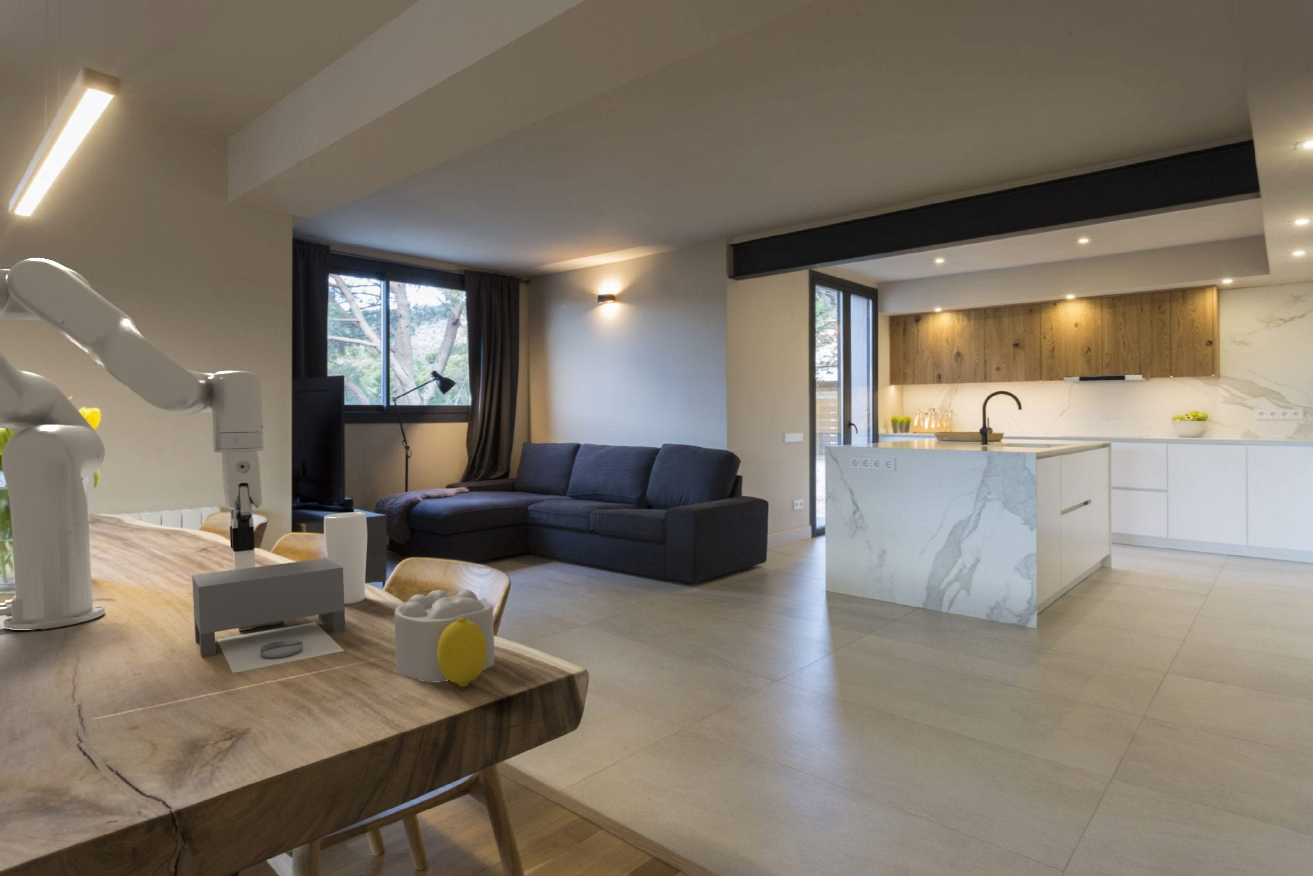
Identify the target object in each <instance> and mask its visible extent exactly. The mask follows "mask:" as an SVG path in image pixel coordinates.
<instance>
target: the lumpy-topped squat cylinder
mask: <svg viewBox="0 0 1313 876" xmlns="http://www.w3.org/2000/svg"><path fill="white" fill-rule="evenodd" d="M393 613H394V615H393V618H394V638H395V639H394V641H395V645H394V646H395V670H396V671H397V673H399V672H400V673H399V674H401V673H402V674H401V675H403V674H404V675H403V676H405V675H406V676H405V677H407V676H409V677H408V678H410V677H412V678H411V679H413V678H416V679H420V680H424V681H445V680H447V678H445V676H444V675H443V674H442V672H441V670H440V668H439V665H438V660H437V648H438V643H439V639H440V636H441V634H442V632H443V631H444V629H445V628H446V627H447V626H449V625H450V624H451V623H453V622H455V621H457V619H458V618H465V619H466V620H468V621H471V622H473V623H475V624H476V625H478V626H479V627H480V629H481V630H482V632H483V634H484V637H485V640H486V645H487V660H486V664H485V667H484V668H487V667H490V666H491V665H493V664H494V662H495V659H496V658H495V637H494V635H495V634H494V609H493V606H492V605H491V604H490V603H488V602H486V601H482V600H479V599H478V596H477V594H476V593H474V592H473V591H472V590H471V589H463V590H461V591H459V592H458V593H456V594H454V596H453V595H452V596H449V594H448V593H447V592H445V591H444V590H443V589H435V590H432V591H430V592H429V593H428V594H427V595H423V594H420V593H419V594H417V593H416V594H414V595H412V596H411V597H410V598H409V599H408V600H407V601H405V602H403V603H400V604H399V605H397V607H395V610H394V612H393ZM494 665H495V664H494ZM494 665H493V666H494ZM490 668H491V667H490ZM416 679H415V680H416Z"/></svg>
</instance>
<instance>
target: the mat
mask: <svg viewBox="0 0 1313 876" xmlns="http://www.w3.org/2000/svg"><path fill="white" fill-rule="evenodd" d="M216 640H217V643H218V645H219V647H220V650H221V651H222V653H223V656H224V658H225V660H226V662H227V664H228V666H229V668H230V671H231V673H232V674H237V673H240V672H246V671H251V670H256V669H261V668H266V667H270V666H277V665H281V664H285V663H286V664H287V663H291V662H297V661H301V660H302V661H303V660H307V659H312V658H317V657H321V656H325V655H332V654H335V653H336V654H337V653H342V652H345V650H344V649H343V648H342V647H341V646H340V644H338V642H336V641H335V640H334V639H333V638H332V637H331V636H330V635H329V634H328V633H327V632H326V631H325V630H324V629H323V628H322V627H321V626H320V625H319V624H318V623H317V622H307V623H304V624H298V625H291V626H285V627H280V628H273V629H269V630H268V629H267V630H264V631H263V630H261V631H257V632H251V633H246V634H241V635H233V636H227V637H223V638H217V639H216ZM286 640H299V641H302V643H303V651H302V652H300V653H299V654H296V655H293V656H290V657H285V658H279V659H263V658H261V652H260V648H261V647H263V646H265V645H267V644H270V643H274V642H279V641H286Z"/></svg>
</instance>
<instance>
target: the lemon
mask: <svg viewBox="0 0 1313 876" xmlns="http://www.w3.org/2000/svg"><path fill="white" fill-rule="evenodd" d="M437 660H438V665H439V668H440V670H441V672H442V674H443V675H444V676H445V678H447V679H448V680H450V681H449V682H452V683H456V684H457V685H458V686H459V687H460V688H466V687H467V686H468V685H469V683H470V682H472V681H474V680H475V679H476V678H478V677H479V676H480V675H481V673H482V672H483V671H484V670H483V669H484V667H485V664H486V660H487V645H486V640H485V637H484V634H483V632H482V630H481V629H480V627H479V626H478V625H476V624H475V623H473V622H471V621H468V620H466V619H465V618H458V619H457V621H455V622H453V623H451V624H450V625H449V626H447V627H446V628H445V629H444V631H443V632H442V634H441V636H440V639H439V643H438V648H437ZM465 686H466V687H465Z"/></svg>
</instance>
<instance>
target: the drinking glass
mask: <svg viewBox="0 0 1313 876" xmlns="http://www.w3.org/2000/svg"><path fill="white" fill-rule="evenodd" d="M367 523H368V522H367V514H366V512H361V511H359V512H357V511H355V512H340V513H333V514H327V515H324V516H323V534H324V536H323V537H324V546H325V547H324V548H325V554H326V555H325V556H326V558H328V559H330V560H331V561H333V562H335V563H336V564H338V565H340V566H341V567H343V583H344V605H351V604H358V603H360V602H362V601H364V600H365V599H366V568H367V567H366V566H367V552H368V551H367V548H368V546H367V545H368V524H367Z"/></svg>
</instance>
